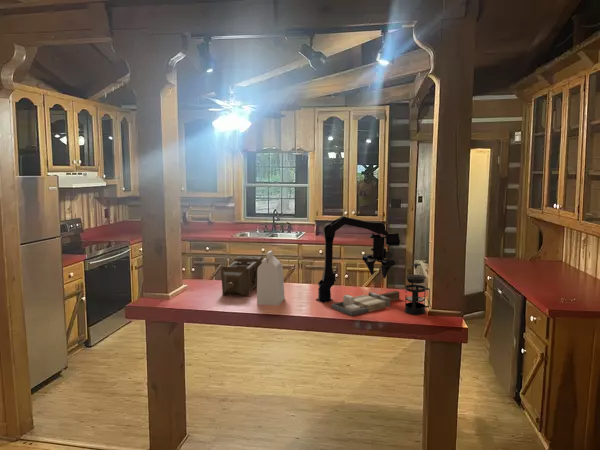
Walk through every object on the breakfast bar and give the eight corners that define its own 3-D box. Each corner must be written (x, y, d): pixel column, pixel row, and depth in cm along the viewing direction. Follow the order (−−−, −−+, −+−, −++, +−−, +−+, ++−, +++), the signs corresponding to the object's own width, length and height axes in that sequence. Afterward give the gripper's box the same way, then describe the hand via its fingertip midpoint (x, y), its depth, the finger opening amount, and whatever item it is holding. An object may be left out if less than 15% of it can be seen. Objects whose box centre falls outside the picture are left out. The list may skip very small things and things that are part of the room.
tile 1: (347, 304, 225) (343, 305, 224) (347, 294, 225) (343, 295, 223) (353, 307, 221) (349, 307, 220) (353, 297, 220) (349, 297, 219)
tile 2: (353, 304, 218) (353, 309, 218) (345, 306, 215) (345, 311, 215) (360, 306, 213) (360, 311, 214) (351, 308, 211) (351, 313, 211)
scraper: (368, 300, 234) (368, 292, 234) (388, 295, 241) (388, 288, 241) (387, 306, 222) (387, 298, 222) (407, 302, 230) (407, 294, 229)
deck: (348, 304, 227) (348, 298, 227) (365, 300, 233) (365, 294, 233) (368, 311, 215) (368, 305, 215) (385, 307, 221) (385, 301, 220)
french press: (401, 313, 212) (402, 265, 209) (404, 307, 220) (405, 261, 217) (428, 316, 207) (429, 266, 204) (430, 310, 216) (431, 262, 213)
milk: (279, 305, 227) (277, 254, 224) (256, 304, 230) (255, 253, 226) (284, 298, 239) (283, 249, 236) (263, 297, 241) (262, 249, 238)
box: (331, 308, 222) (331, 304, 222) (348, 304, 227) (348, 300, 227) (351, 316, 209) (351, 312, 209) (368, 312, 215) (368, 307, 215)
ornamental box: (242, 307, 235) (245, 272, 231) (210, 300, 238) (213, 267, 235) (263, 287, 268) (266, 257, 265) (235, 282, 272) (237, 252, 268)
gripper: (403, 247, 228) (402, 277, 230) (377, 242, 244) (377, 270, 246) (387, 249, 222) (386, 281, 224) (361, 244, 238) (361, 273, 240)
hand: (378, 276), depth 234 cm, fingers open, 9 cm apart
